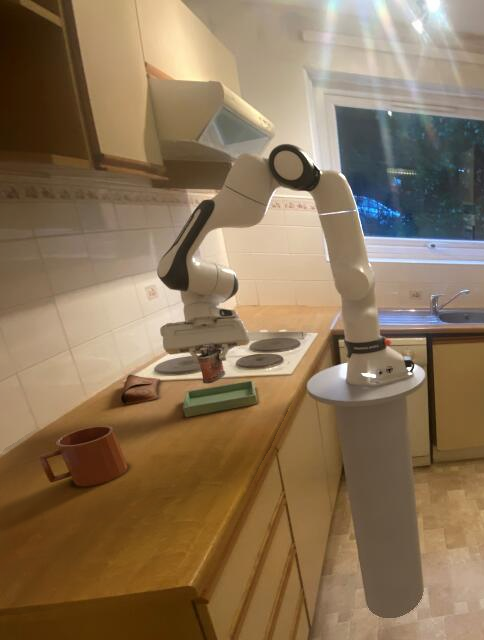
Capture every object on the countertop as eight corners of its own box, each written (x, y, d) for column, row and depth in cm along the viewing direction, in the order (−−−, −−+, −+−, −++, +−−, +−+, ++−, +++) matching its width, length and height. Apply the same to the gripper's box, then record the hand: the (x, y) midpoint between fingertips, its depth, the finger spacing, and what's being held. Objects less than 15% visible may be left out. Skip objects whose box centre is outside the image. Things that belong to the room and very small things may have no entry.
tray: (255, 388, 136) (253, 380, 135) (257, 403, 126) (255, 395, 125) (188, 399, 128) (186, 391, 127) (185, 417, 118) (182, 408, 117)
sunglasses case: (159, 397, 128) (138, 381, 124) (137, 413, 126) (115, 398, 122) (160, 378, 142) (142, 364, 138) (140, 393, 140) (121, 378, 136)
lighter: (212, 383, 120) (205, 349, 117) (199, 383, 120) (192, 349, 116) (228, 373, 128) (222, 340, 124) (216, 372, 128) (209, 340, 124)
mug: (121, 459, 98) (107, 421, 95) (132, 472, 93) (117, 434, 90) (50, 482, 90) (31, 442, 86) (57, 499, 85) (37, 457, 81)
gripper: (155, 318, 118) (162, 362, 114) (242, 310, 128) (251, 350, 124) (162, 330, 123) (169, 372, 119) (245, 321, 133) (253, 360, 129)
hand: (211, 361), depth 122 cm, fingers closed on lighter, 4 cm apart
